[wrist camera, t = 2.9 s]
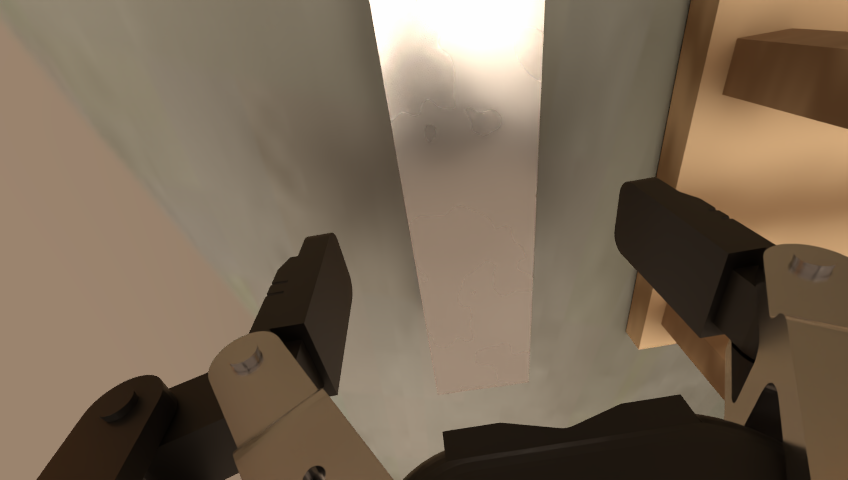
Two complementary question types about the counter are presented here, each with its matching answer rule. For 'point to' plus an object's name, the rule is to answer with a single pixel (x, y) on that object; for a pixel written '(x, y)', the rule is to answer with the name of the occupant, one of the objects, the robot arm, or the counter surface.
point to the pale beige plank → (468, 173)
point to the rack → (755, 139)
